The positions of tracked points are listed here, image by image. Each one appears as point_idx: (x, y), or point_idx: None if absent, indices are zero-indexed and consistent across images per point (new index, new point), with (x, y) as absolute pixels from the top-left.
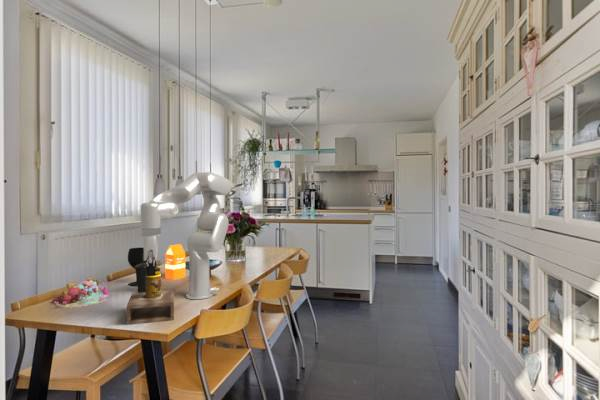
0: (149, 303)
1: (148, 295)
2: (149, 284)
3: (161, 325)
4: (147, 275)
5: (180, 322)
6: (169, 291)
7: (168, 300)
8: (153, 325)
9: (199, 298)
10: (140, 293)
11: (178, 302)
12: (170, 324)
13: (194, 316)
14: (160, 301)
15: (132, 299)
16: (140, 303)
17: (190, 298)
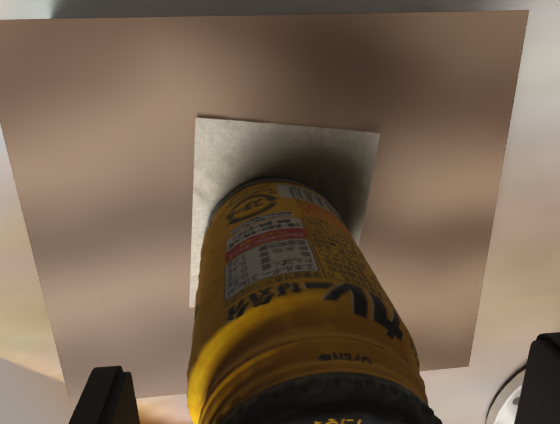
0: (48, 233)
1: (215, 219)
2: (201, 292)
3: (7, 259)
4: (91, 379)
5: (53, 353)
6: (430, 342)
7: (124, 365)
8: (13, 212)
9: (489, 420)
10: (472, 103)
11: (486, 312)
12: (21, 306)
13: (155, 410)
14: (104, 312)
15: (244, 49)
16: (61, 152)
17: (520, 375)
